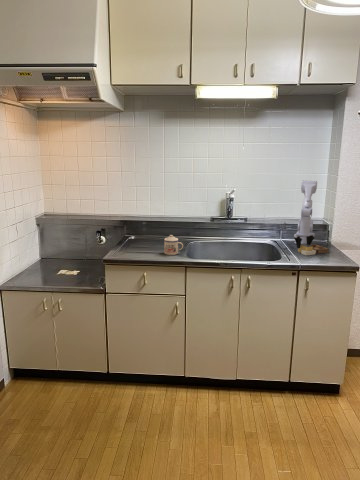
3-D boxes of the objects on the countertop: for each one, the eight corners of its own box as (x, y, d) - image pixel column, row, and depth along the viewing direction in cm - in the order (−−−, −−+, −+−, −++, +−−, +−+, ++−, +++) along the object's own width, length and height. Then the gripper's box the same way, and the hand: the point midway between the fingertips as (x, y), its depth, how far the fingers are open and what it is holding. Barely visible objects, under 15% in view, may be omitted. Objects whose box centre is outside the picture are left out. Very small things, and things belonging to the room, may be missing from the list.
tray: (304, 248, 244) (304, 245, 243) (315, 247, 247) (315, 244, 246) (317, 253, 232) (317, 250, 232) (328, 252, 236) (329, 248, 235)
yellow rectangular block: (297, 251, 237) (297, 243, 236) (302, 250, 239) (303, 242, 238) (306, 254, 229) (307, 246, 228) (311, 254, 231) (312, 246, 230)
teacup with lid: (162, 254, 225) (162, 236, 222) (165, 251, 234) (165, 233, 231) (181, 255, 223) (182, 237, 221) (183, 251, 232) (184, 234, 229)
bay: (301, 253, 231) (301, 249, 231) (310, 252, 234) (311, 248, 234) (305, 255, 228) (306, 251, 227) (315, 254, 230) (315, 250, 230)
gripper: (300, 228, 225) (298, 250, 229) (318, 227, 231) (316, 248, 234) (292, 226, 232) (290, 247, 235) (311, 225, 237) (309, 245, 240)
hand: (303, 247), depth 235 cm, fingers open, 7 cm apart
